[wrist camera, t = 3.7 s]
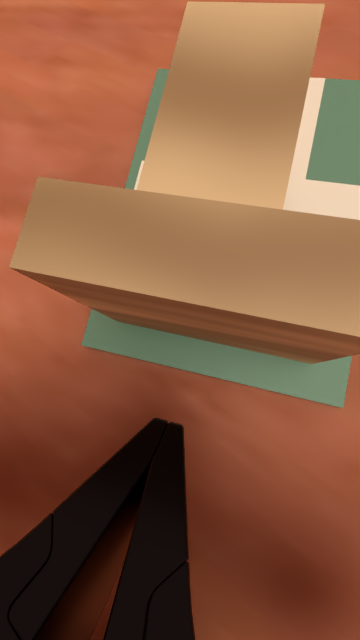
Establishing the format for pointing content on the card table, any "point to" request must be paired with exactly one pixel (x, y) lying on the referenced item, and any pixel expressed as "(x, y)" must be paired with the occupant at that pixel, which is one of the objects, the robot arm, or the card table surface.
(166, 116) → the oak t block
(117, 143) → the card table surface
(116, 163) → the card table surface
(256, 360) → the board
